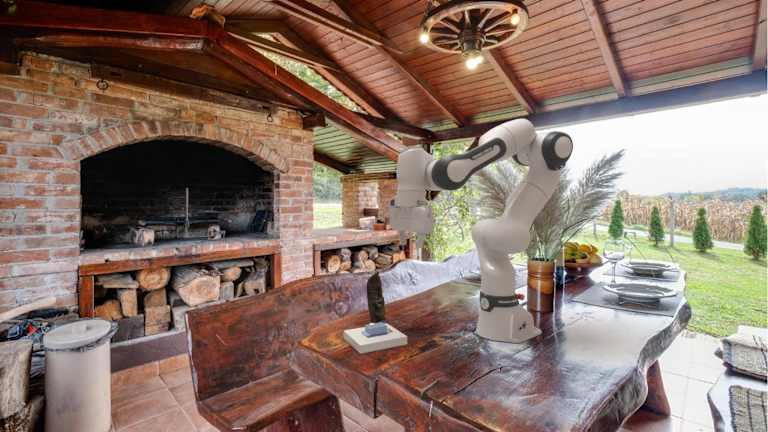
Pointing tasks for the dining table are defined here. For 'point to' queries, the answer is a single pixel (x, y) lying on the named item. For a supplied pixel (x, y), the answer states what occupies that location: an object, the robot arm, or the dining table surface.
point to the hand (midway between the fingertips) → (410, 246)
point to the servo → (375, 330)
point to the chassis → (374, 340)
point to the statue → (376, 299)
